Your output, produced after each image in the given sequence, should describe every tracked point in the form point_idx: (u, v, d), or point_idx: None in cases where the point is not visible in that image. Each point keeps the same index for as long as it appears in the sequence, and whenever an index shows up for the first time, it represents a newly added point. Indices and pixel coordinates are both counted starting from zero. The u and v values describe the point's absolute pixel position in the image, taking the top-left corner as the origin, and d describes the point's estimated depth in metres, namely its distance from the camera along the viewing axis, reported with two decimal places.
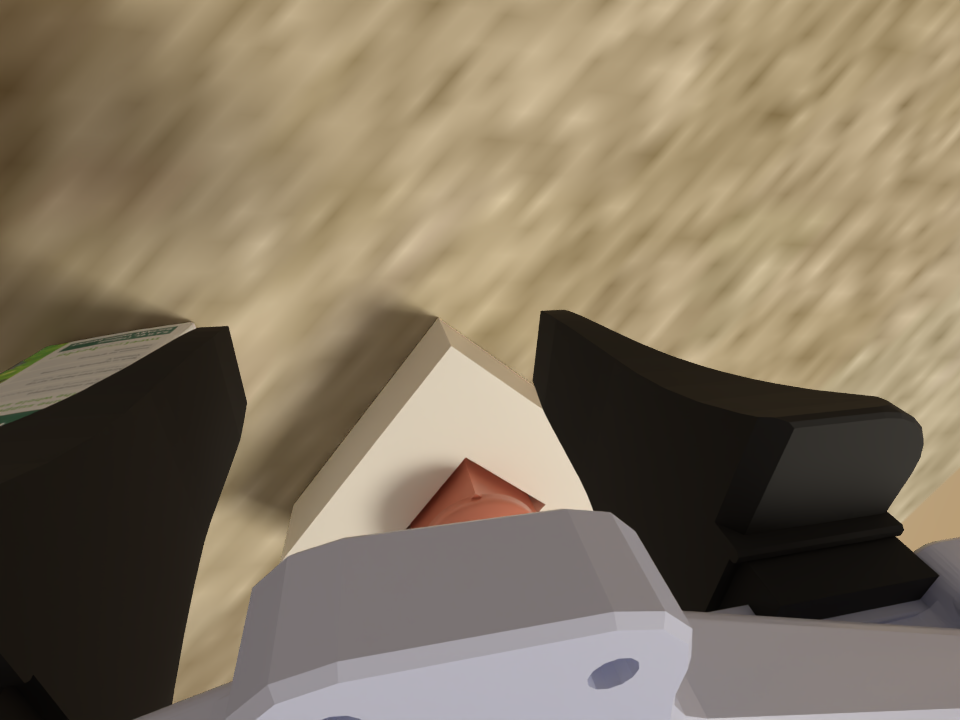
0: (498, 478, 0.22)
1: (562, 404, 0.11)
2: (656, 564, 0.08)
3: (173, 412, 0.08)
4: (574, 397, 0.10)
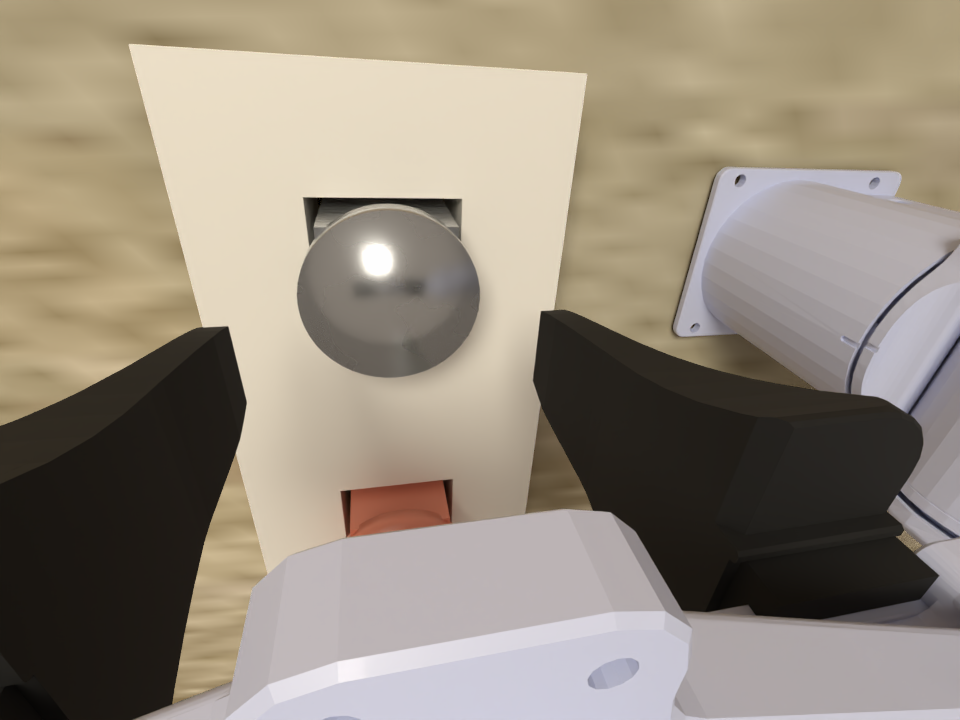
0: None
1: (562, 404, 0.11)
2: (656, 564, 0.08)
3: (173, 412, 0.08)
4: (574, 397, 0.10)
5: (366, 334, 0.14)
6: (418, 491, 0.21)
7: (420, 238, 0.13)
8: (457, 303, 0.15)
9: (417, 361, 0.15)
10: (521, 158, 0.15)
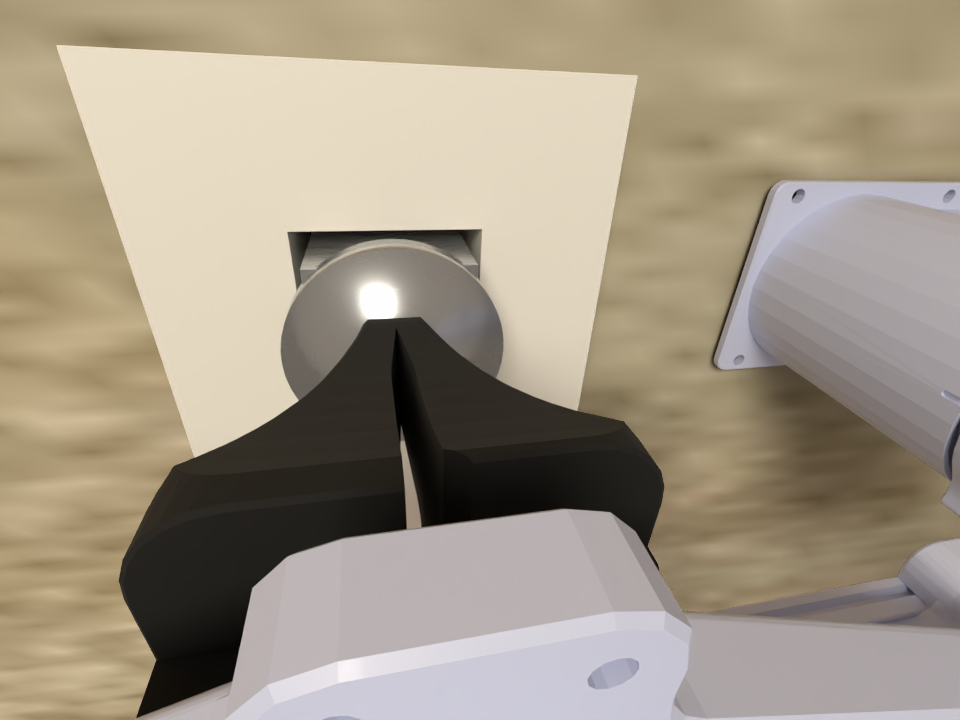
0: None
1: (405, 418, 0.10)
2: None
3: (393, 395, 0.09)
4: (408, 411, 0.10)
5: None
6: None
7: (432, 281, 0.11)
8: (476, 355, 0.12)
9: None
10: (554, 180, 0.12)
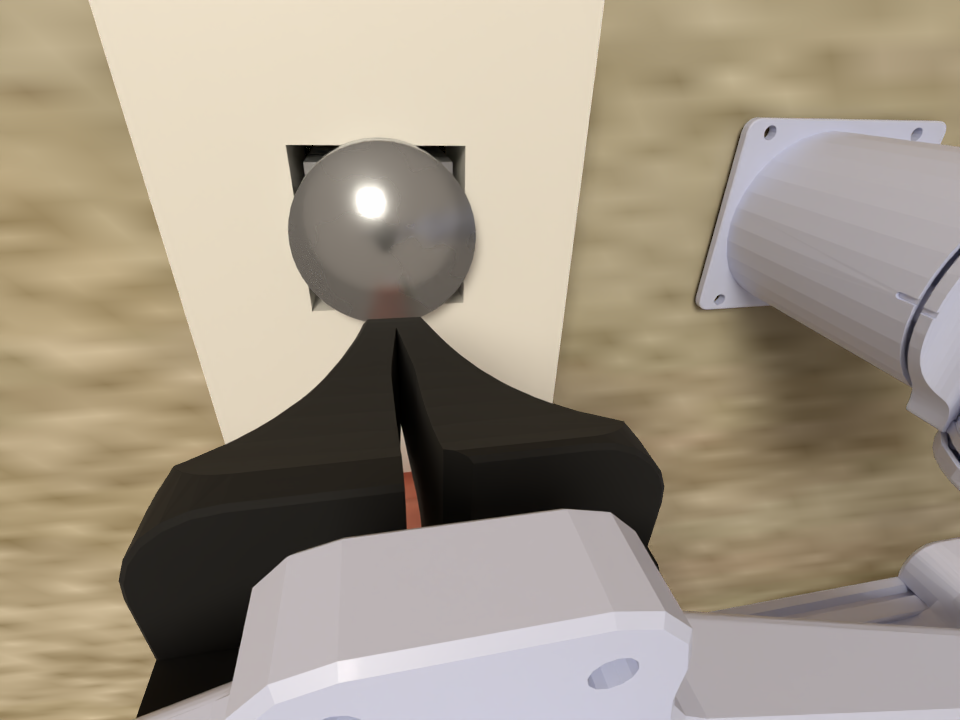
0: None
1: (405, 418, 0.10)
2: None
3: (393, 395, 0.09)
4: (408, 411, 0.10)
5: (360, 276, 0.14)
6: None
7: (413, 171, 0.13)
8: (453, 243, 0.14)
9: (413, 306, 0.15)
10: (531, 98, 0.13)
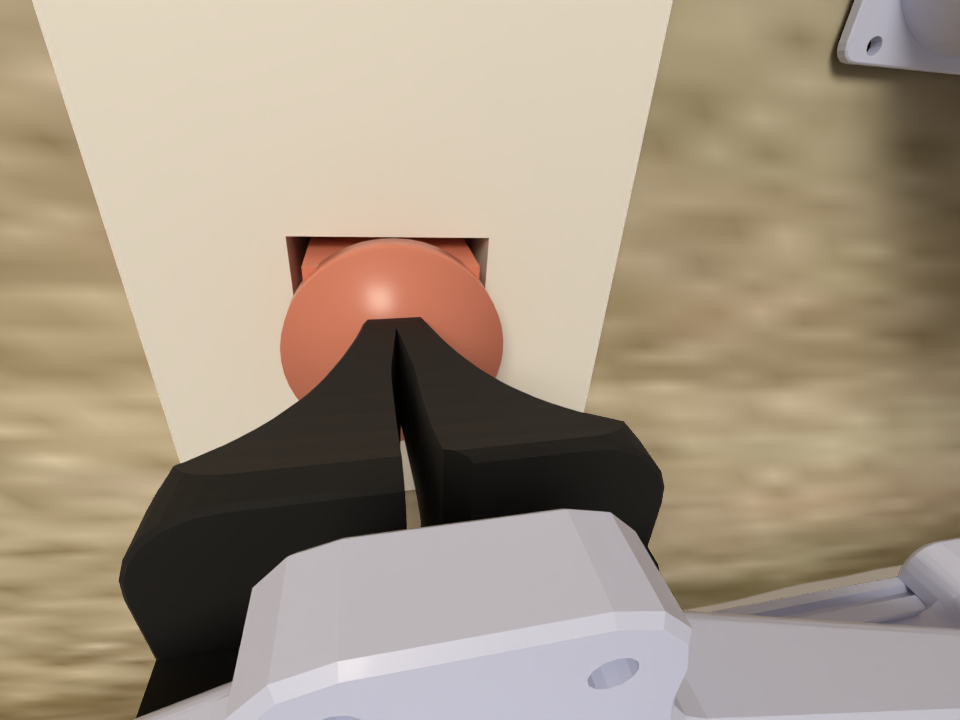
0: None
1: (405, 418, 0.10)
2: None
3: (393, 395, 0.09)
4: (408, 411, 0.10)
5: None
6: None
7: None
8: None
9: None
10: None
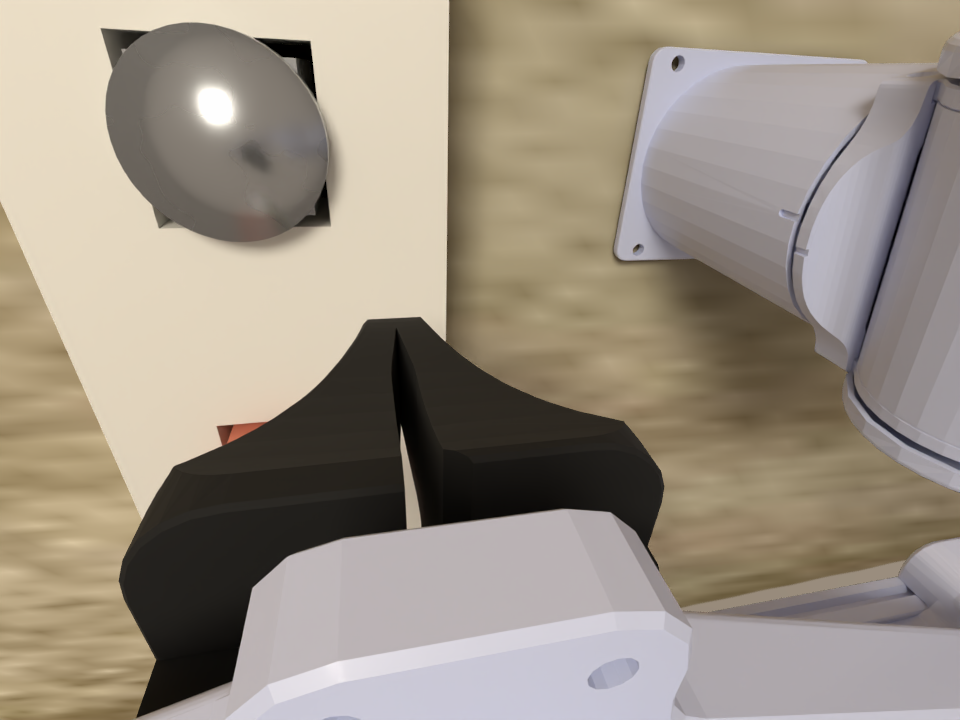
0: None
1: (405, 418, 0.10)
2: None
3: (393, 395, 0.09)
4: (408, 411, 0.10)
5: (200, 184, 0.13)
6: None
7: (243, 62, 0.12)
8: (301, 150, 0.13)
9: (266, 223, 0.14)
10: None
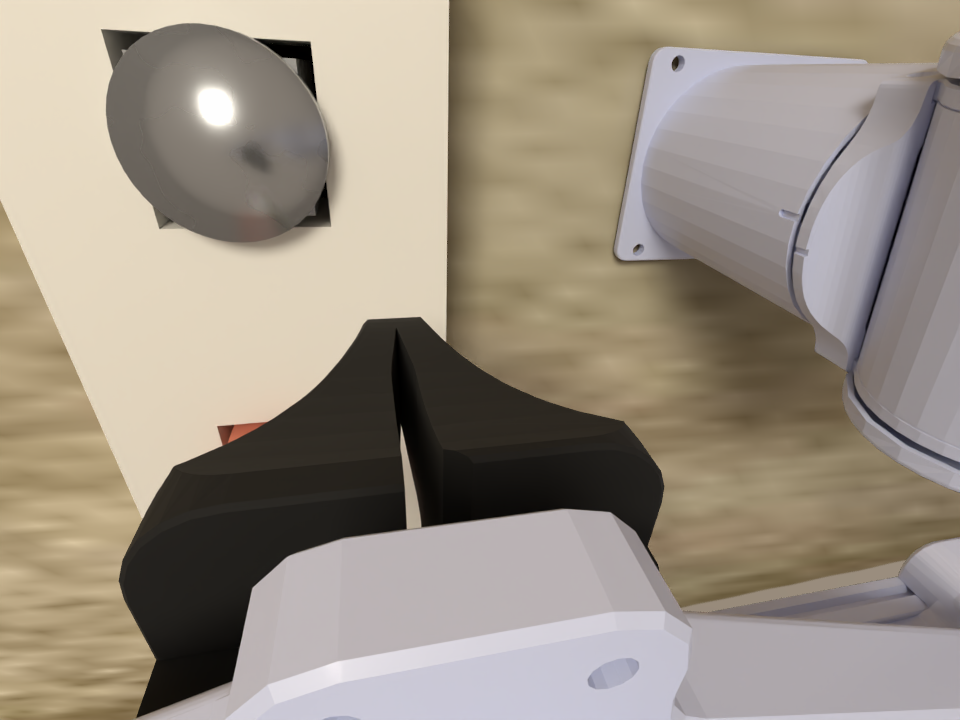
0: None
1: (405, 418, 0.10)
2: None
3: (393, 395, 0.09)
4: (408, 411, 0.10)
5: (200, 185, 0.13)
6: None
7: (244, 62, 0.12)
8: (301, 150, 0.13)
9: (266, 223, 0.14)
10: None
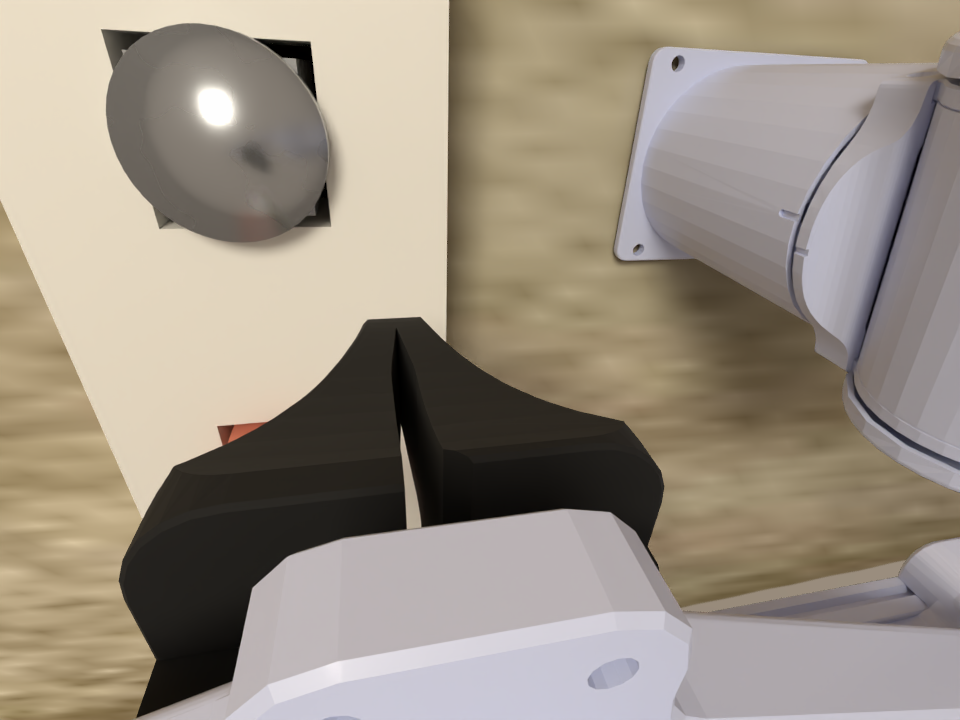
0: None
1: (405, 418, 0.10)
2: None
3: (393, 395, 0.09)
4: (408, 411, 0.10)
5: (200, 185, 0.13)
6: None
7: (244, 62, 0.12)
8: (301, 150, 0.13)
9: (266, 223, 0.14)
10: None
